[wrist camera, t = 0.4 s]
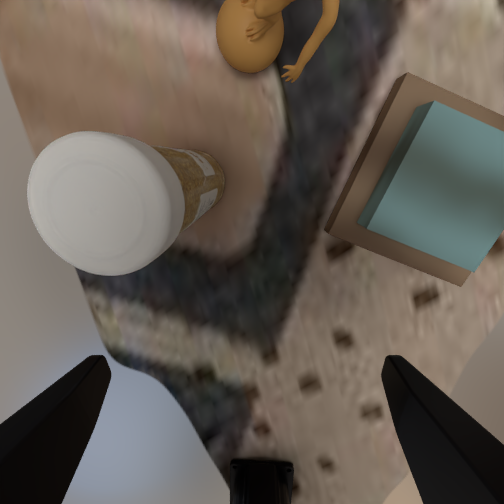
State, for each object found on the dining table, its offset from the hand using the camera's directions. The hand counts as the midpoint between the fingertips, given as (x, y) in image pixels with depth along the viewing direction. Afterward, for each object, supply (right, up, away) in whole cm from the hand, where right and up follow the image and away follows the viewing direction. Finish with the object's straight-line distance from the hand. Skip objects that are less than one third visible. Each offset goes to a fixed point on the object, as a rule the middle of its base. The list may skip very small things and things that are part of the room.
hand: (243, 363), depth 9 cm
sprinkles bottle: (-4, +9, +12) cm, 16 cm away
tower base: (+13, +8, +12) cm, 19 cm away
